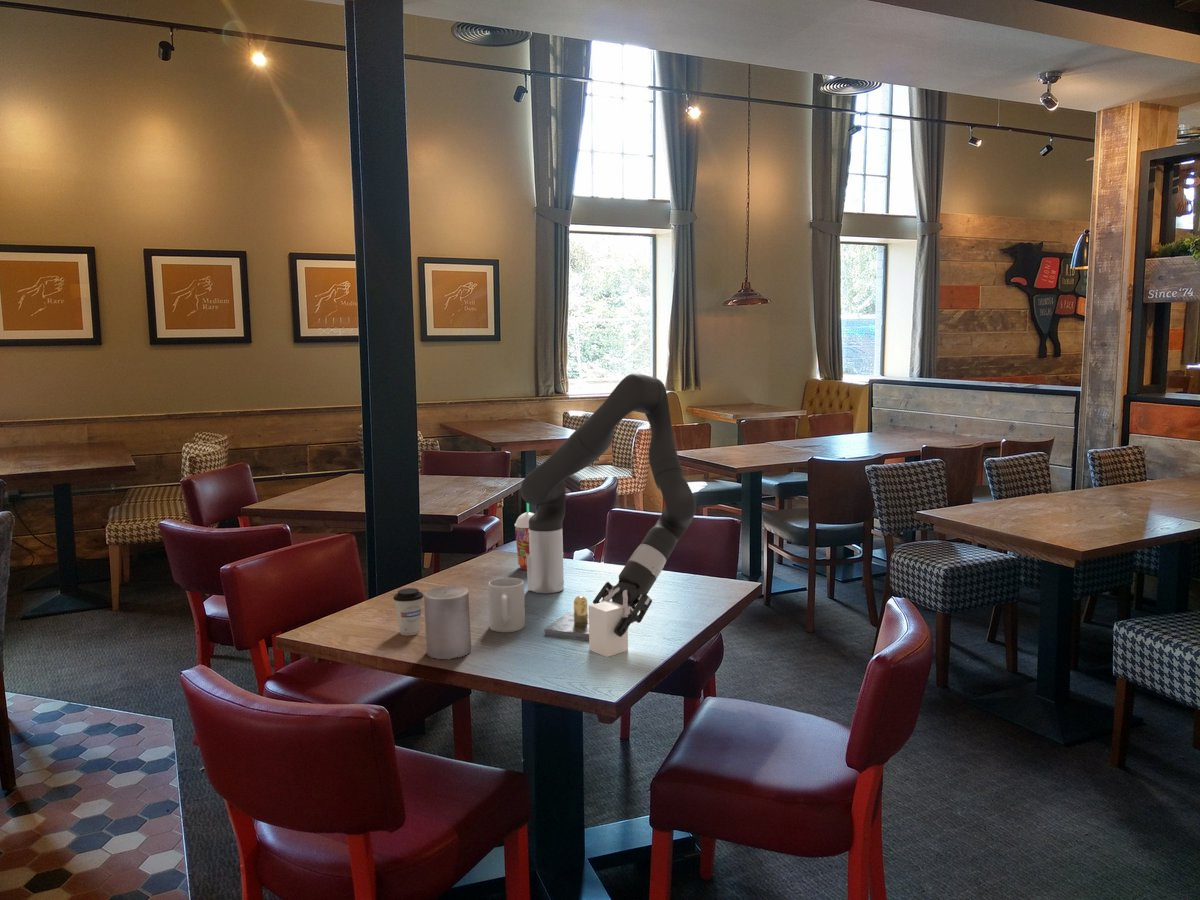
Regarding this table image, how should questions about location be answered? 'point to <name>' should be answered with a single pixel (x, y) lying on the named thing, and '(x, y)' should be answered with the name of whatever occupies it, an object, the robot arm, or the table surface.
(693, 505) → the robot arm
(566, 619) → the base plate
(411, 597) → the coffee cup
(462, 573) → the table surface
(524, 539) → the smoothie
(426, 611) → the pillar candle
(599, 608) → the white rectangular block
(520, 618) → the mug
